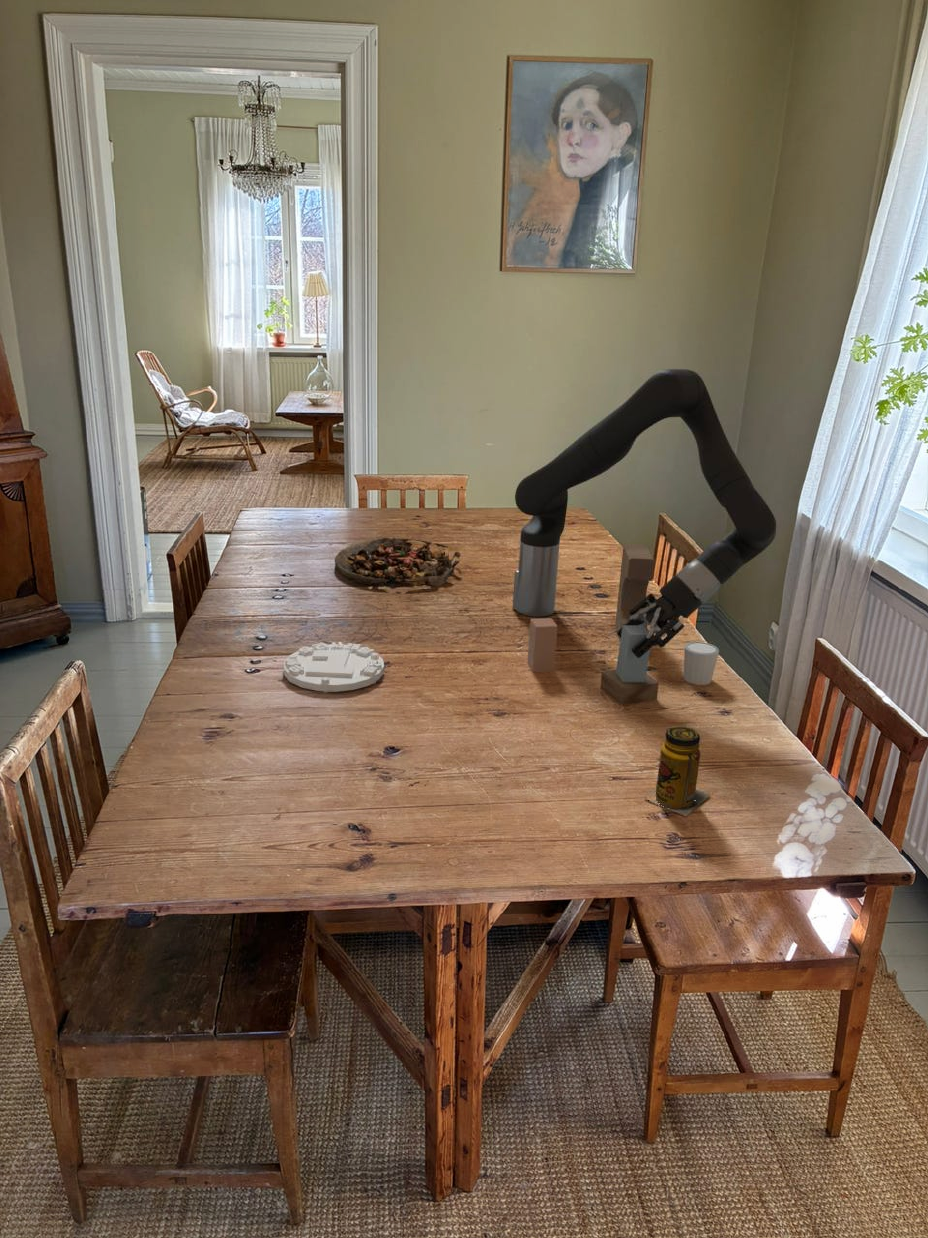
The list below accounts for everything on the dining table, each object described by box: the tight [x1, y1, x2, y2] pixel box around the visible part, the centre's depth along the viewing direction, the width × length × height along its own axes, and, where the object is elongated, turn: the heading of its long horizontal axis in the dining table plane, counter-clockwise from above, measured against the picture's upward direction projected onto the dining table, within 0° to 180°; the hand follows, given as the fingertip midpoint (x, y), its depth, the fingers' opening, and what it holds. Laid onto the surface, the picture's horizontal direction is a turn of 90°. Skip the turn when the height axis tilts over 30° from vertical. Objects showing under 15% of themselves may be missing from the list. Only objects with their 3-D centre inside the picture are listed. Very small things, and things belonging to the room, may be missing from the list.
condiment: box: [644, 725, 711, 818], centre depth 148 cm, size 7×8×12 cm
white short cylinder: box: [682, 641, 720, 686], centre depth 192 cm, size 7×7×7 cm
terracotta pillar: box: [527, 617, 558, 673], centre depth 194 cm, size 4×4×10 cm
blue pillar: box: [615, 625, 652, 682], centre depth 182 cm, size 4×4×10 cm
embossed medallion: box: [283, 641, 385, 694], centre depth 189 cm, size 20×20×3 cm
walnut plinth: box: [599, 669, 660, 706], centre depth 185 cm, size 8×8×4 cm
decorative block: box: [614, 544, 656, 641], centre depth 210 cm, size 11×6×20 cm, turn 177°
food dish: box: [334, 536, 461, 588], centre depth 251 cm, size 35×33×8 cm
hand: (627, 645), depth 181 cm, fingers open, 8 cm apart
